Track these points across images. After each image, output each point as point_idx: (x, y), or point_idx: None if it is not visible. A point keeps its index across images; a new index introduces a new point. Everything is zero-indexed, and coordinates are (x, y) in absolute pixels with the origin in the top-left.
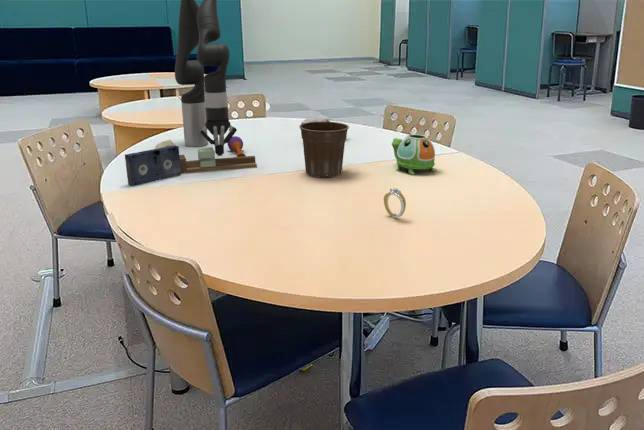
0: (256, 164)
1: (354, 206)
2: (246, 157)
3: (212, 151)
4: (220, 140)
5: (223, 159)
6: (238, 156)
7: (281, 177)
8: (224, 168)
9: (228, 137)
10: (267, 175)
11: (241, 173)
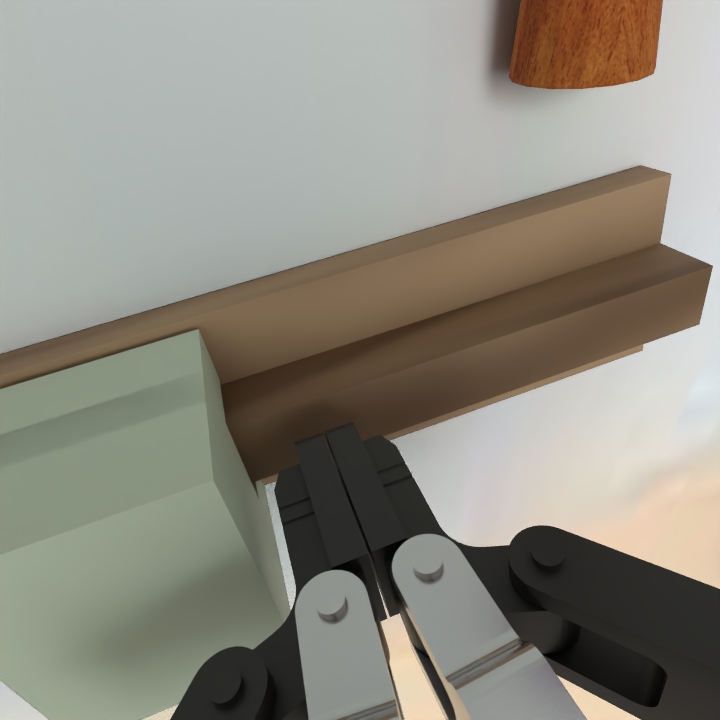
0: (636, 348)
1: None
2: (614, 348)
3: None
4: (444, 707)
5: None
6: (551, 84)
7: (666, 531)
8: None
9: (617, 692)
10: (615, 511)
11: (471, 497)
